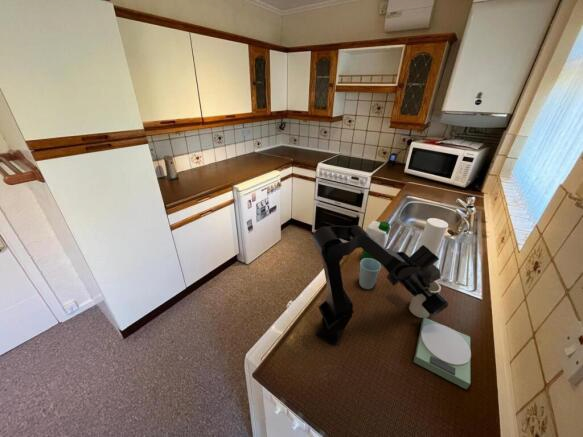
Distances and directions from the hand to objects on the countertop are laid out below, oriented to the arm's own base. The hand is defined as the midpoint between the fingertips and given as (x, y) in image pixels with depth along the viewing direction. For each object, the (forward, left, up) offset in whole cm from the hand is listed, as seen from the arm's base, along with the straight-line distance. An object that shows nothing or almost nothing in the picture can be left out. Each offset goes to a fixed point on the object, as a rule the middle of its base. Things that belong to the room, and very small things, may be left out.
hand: (427, 296), depth 82 cm
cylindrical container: (+21, +4, -7) cm, 22 cm away
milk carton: (+18, +24, -7) cm, 31 cm away
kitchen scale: (-14, -7, -7) cm, 17 cm away
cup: (+1, +21, -7) cm, 22 cm away
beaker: (-1, +1, -7) cm, 7 cm away
